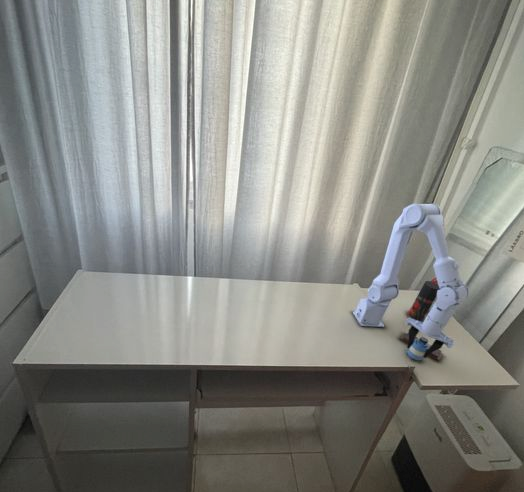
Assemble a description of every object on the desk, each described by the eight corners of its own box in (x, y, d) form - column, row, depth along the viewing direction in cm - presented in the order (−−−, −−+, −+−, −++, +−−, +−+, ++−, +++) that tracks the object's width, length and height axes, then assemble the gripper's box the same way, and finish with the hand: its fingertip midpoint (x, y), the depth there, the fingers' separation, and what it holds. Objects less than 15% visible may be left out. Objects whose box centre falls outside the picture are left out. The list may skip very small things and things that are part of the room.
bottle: (412, 360, 102) (422, 344, 98) (404, 349, 106) (413, 333, 102) (425, 360, 103) (435, 345, 100) (417, 349, 107) (426, 334, 104)
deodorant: (424, 323, 124) (443, 291, 115) (408, 319, 124) (426, 286, 116) (420, 314, 129) (438, 283, 120) (406, 310, 129) (423, 279, 121)
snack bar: (399, 339, 112) (401, 335, 111) (404, 334, 115) (406, 330, 114) (438, 361, 105) (440, 357, 104) (441, 355, 108) (444, 352, 107)
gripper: (464, 326, 96) (442, 358, 103) (418, 303, 103) (400, 334, 110) (459, 335, 91) (436, 368, 98) (411, 310, 98) (393, 343, 105)
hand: (417, 351), depth 104 cm, fingers closed on bottle, 5 cm apart
